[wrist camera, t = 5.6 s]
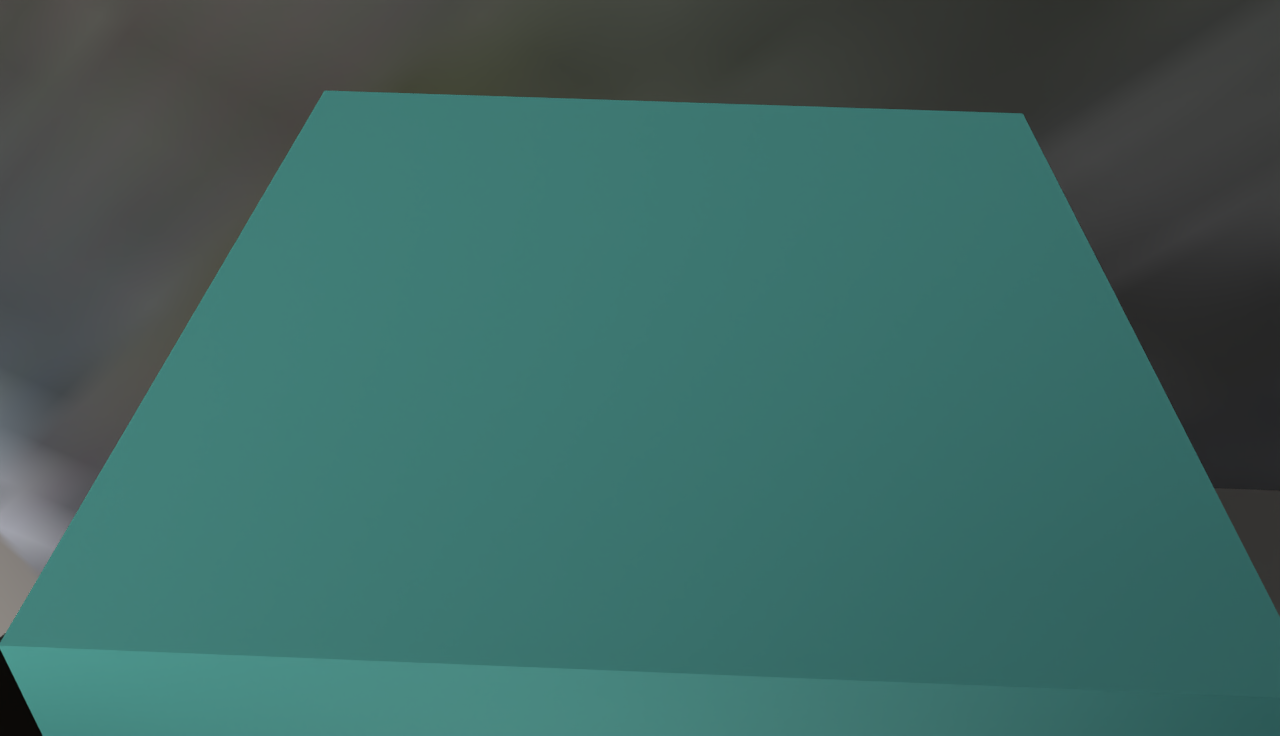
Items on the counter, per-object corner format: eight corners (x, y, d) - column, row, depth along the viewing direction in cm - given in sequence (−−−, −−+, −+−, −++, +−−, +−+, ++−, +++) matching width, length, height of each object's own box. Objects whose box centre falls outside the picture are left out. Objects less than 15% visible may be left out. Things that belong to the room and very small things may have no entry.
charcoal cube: (1305, 488, 23) (1433, 705, 19) (1221, 654, 26) (1317, 869, 22) (1047, 478, 23) (1119, 691, 19) (994, 644, 26) (1047, 856, 22)
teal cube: (1023, 112, 8) (1322, 699, 4) (910, 587, 11) (1027, 1186, 7) (324, 90, 8) (-3, 645, 4) (398, 567, 11) (244, 1149, 8)
